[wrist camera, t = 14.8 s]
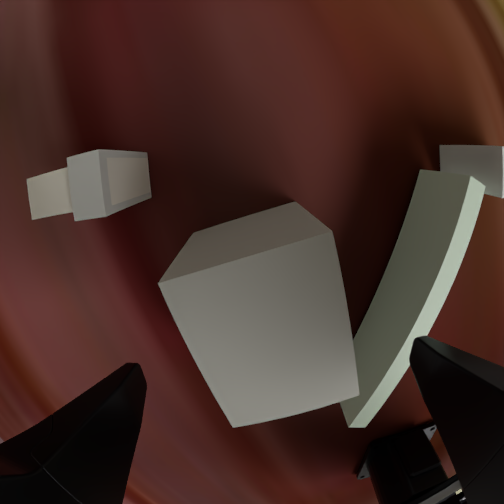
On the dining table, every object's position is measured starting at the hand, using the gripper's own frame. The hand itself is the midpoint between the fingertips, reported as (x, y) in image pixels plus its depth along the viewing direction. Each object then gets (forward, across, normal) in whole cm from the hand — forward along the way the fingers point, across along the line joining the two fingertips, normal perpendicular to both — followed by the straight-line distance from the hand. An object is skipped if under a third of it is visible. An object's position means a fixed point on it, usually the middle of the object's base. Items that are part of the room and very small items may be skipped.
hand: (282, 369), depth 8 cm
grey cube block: (+6, 0, -1) cm, 6 cm away
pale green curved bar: (+5, -5, 0) cm, 7 cm away
